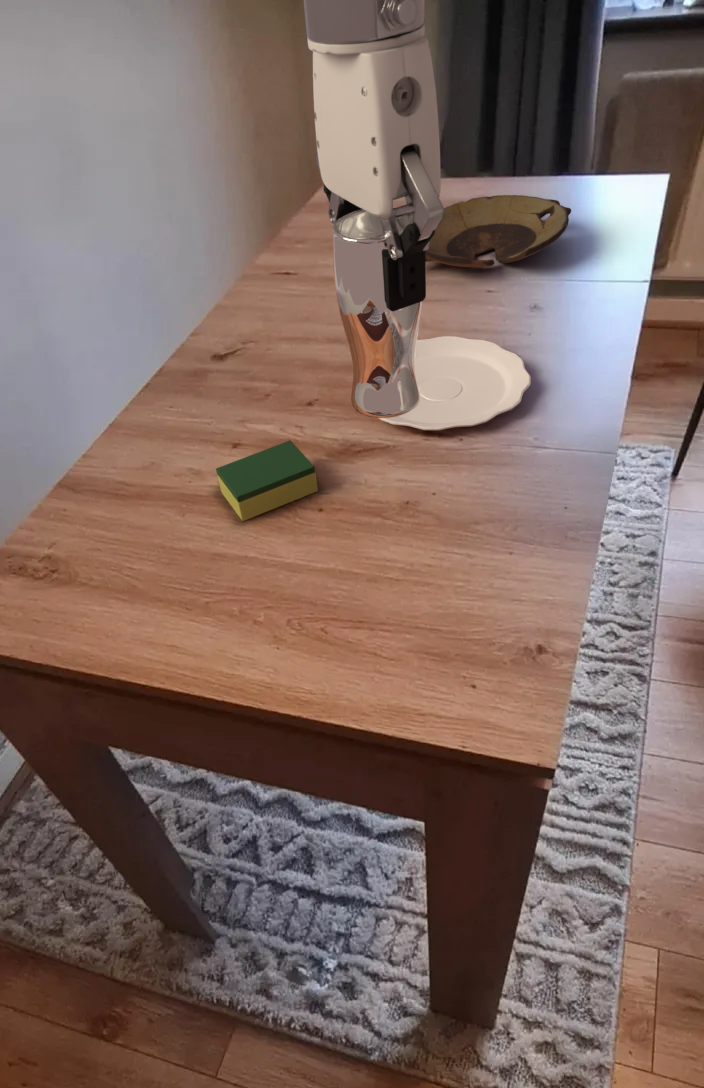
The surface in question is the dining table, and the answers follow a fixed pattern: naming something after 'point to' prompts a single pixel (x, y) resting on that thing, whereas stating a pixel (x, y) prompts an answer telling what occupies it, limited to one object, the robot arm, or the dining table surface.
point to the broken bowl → (496, 229)
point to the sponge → (267, 480)
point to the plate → (463, 383)
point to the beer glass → (374, 319)
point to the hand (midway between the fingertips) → (379, 285)
